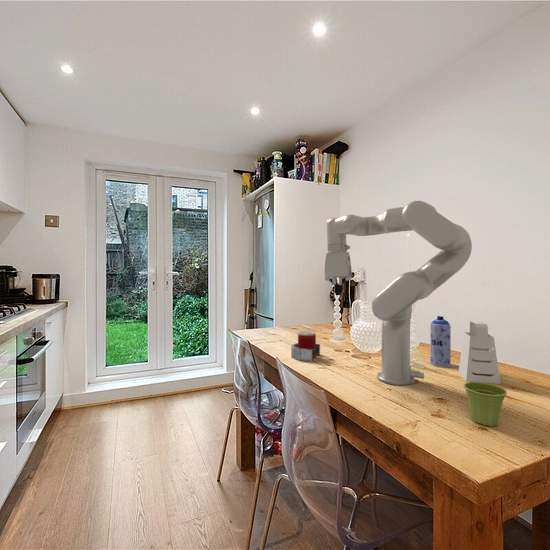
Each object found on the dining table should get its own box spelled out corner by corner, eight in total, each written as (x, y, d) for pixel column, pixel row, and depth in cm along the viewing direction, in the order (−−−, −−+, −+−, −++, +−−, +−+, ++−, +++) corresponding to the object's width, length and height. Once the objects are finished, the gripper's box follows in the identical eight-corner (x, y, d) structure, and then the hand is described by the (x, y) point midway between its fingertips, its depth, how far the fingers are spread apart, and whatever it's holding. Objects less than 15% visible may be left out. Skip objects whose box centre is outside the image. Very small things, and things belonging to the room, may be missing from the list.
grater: (489, 374, 124) (489, 321, 123) (500, 384, 114) (500, 325, 113) (458, 372, 126) (458, 320, 126) (466, 381, 116) (466, 324, 116)
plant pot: (489, 413, 91) (490, 381, 91) (515, 429, 81) (516, 394, 81) (456, 413, 90) (456, 382, 90) (478, 430, 81) (478, 395, 81)
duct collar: (320, 354, 154) (320, 343, 154) (311, 361, 142) (311, 350, 142) (297, 352, 159) (297, 341, 159) (286, 358, 147) (286, 347, 147)
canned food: (315, 359, 146) (315, 334, 145) (297, 358, 147) (297, 334, 147) (316, 355, 153) (316, 331, 153) (299, 354, 155) (298, 330, 154)
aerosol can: (426, 364, 137) (426, 316, 137) (435, 360, 142) (435, 314, 142) (445, 368, 131) (445, 318, 131) (454, 364, 136) (454, 316, 136)
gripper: (357, 248, 133) (359, 294, 133) (322, 251, 140) (323, 294, 140) (353, 247, 127) (354, 295, 127) (316, 250, 133) (317, 295, 133)
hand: (338, 294), depth 133 cm, fingers closed
